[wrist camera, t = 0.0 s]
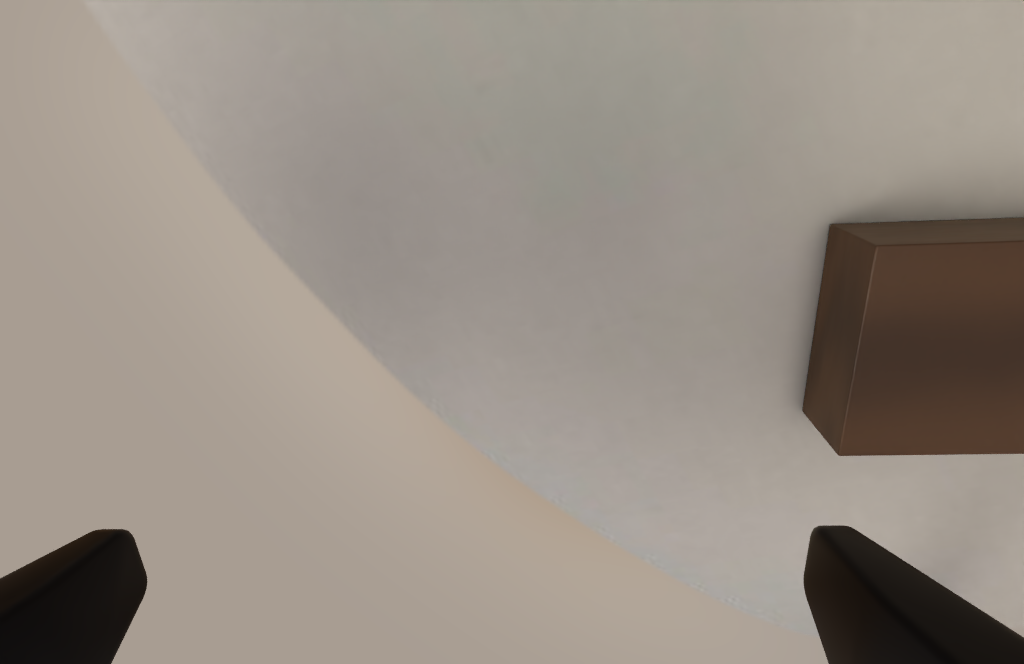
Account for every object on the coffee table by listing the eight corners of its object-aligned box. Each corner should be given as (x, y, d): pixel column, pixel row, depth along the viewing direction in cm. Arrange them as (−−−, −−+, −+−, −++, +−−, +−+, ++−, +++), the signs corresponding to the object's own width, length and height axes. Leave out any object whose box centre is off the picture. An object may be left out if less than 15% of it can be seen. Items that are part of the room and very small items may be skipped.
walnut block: (998, 408, 22) (1064, 453, 19) (801, 411, 22) (838, 456, 20) (1053, 216, 19) (1138, 237, 17) (829, 224, 20) (876, 245, 17)
